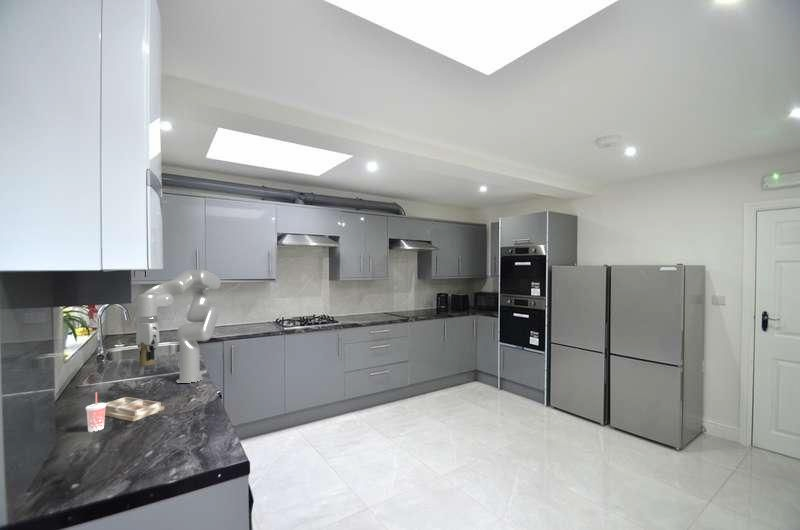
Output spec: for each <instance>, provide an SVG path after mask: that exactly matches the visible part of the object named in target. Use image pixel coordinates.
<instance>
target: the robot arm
mask: <svg viewBox="0 0 800 530" xmlns="http://www.w3.org/2000/svg"><path fill="white" fill-rule="evenodd" d="M221 284H222V281H221V279H220V277H219V276H218V275H216V274H215V273H212V272H210V271H208V270H206V269H187V270H185V271H183V272H181V273H180V274H179V275H177V276H176V277H174V278H172V280H169V281H165V282H162V283H160V284H157V285H155V286H153V287H150V288H149V289H147V290H146V291H145V292H143V293H141V294H139V295H138V296H137V318H136V319H137V322H136V324H137V325H136V331H135V332H136V334H135V341H136V342H135V344H136V346H137V348H138V351H139V356H140V355H141V349H142V348H141V347H140V343H141V342H143V343H144V344H145V345H147V350H148V352H147V361H149V360H151V359H152V360H154V361H155V351H156V349H157V347H159V343H160V328H159V323H158V309H166V308H170V307H171V306H172V305H173V304H174V299H175V298H174V296H177V295H182V294H183V293H185V292H186V291H187V290H189V289H190V290H191V293H192V301H191V304H190V305H189V306H190V307H189V308H188V312H187V315H186V320H187V321H188V323H184V324H182V325H180V326H179V327H178V329H177V339H178V345H179V378H178V379H176V381H175V382H177V383H190V384H192V383H191V382H195V383H198V382H200V380H201V381H203V376H202V375H206V374H207V373H208V370H207V369H204V370H200V368H201V367H200V365H201V364H200V362H201V360H200V357H201V356H200V351H201V350H200V345H199V344H198V342H202V341H203V342H205V341H209V340H210V339H211V337H213V335H214V331H215V328H216V325H217V321H218V318H219V311H218V308H217V307H215V306H214V305H209V303H210V298H209V295H208V294H207V293H206V291H216V290H217V291H218V289H220V287H221V286H222V285H221ZM151 343H153V344H151ZM150 346H151V348H150ZM197 381H198V382H197ZM177 383H176V384H177Z"/></svg>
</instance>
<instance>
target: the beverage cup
mask: <svg viewBox="0 0 800 530" xmlns="http://www.w3.org/2000/svg"><path fill="white" fill-rule="evenodd" d="M106 404H107V402H98V392H95V403H93V404H92V403H91V404H90V405H87V406H86V407H85V411H86V417H87V418H86V419H87V431H88V432H89V433H94V432H93V431H95V432H98V430H99V431H101V430H103V429H104V427H105V420H106V416H105V408H106Z"/></svg>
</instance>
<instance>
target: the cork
mask: <svg viewBox="0 0 800 530" xmlns="http://www.w3.org/2000/svg"><path fill="white" fill-rule="evenodd" d="M151 344H153V343H151ZM140 347H141V348H142V349H141V355H140V354H139V362H138V366H141V367H147V366H152V365H155V363H156V362H155V359H154V360H152V359H151V360H149V361H147V352H148V350H147V345H145V344H144V343H143V342H141V343H140ZM150 348H151V346H150Z"/></svg>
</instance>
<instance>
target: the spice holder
mask: <svg viewBox="0 0 800 530" xmlns="http://www.w3.org/2000/svg"><path fill="white" fill-rule="evenodd" d="M106 403H107V404H106V408H105V417H108V416H109V418H113V417H114V419H117V420H118V419H119V420H123V421H124V420H125V421H128V422H135V421H138V420H141V419H144V418H145V417H149V416H151V415H154V414H157V413H159V411H160V412H162V411H164V409H165V406H164V405H161V403H162V402H160V401H156V400H155V401H153V400H148V399H142V398H137V397H130V396H124V397H121V398H118V399H115V400H111V401H108V402H106Z"/></svg>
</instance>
